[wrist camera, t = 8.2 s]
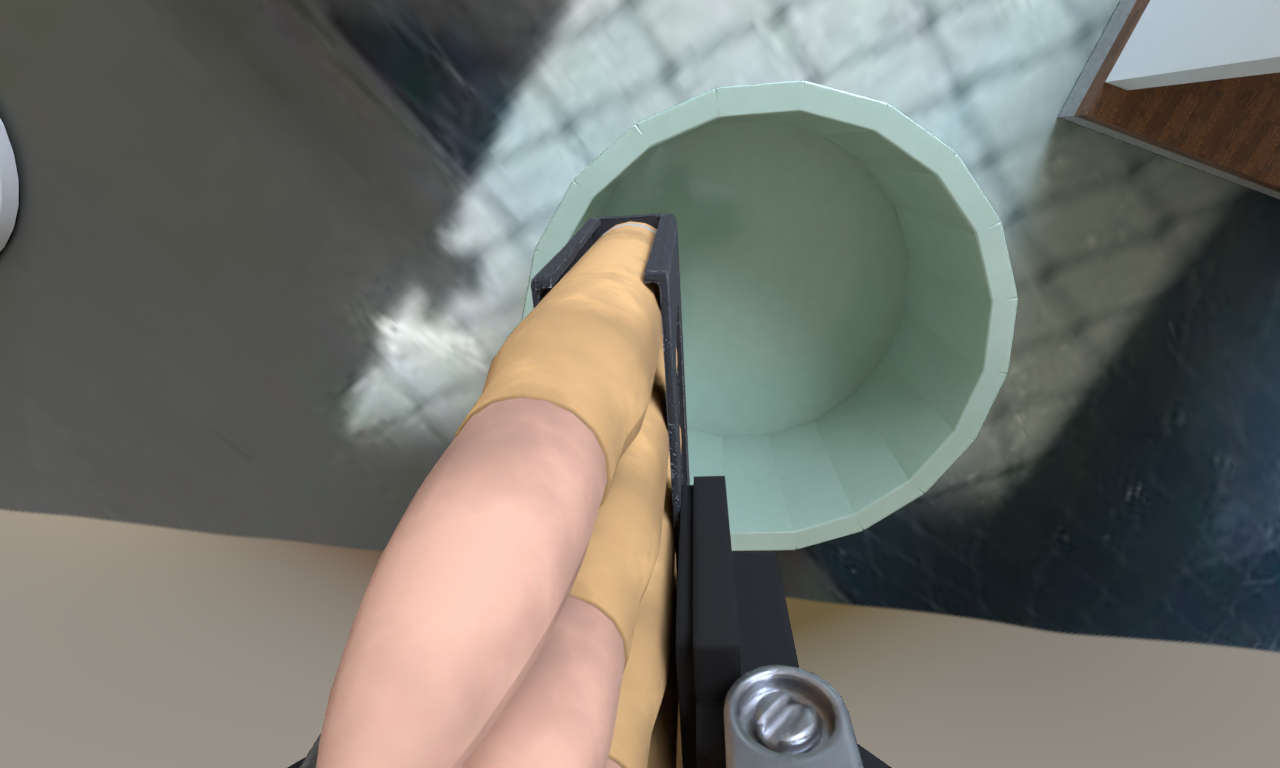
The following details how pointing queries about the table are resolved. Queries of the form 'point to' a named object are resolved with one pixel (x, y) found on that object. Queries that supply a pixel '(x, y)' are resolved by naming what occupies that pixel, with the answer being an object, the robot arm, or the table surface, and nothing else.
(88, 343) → the table surface
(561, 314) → the ammunition clip
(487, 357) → the table surface
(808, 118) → the pale green bowl
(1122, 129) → the architectural tower model
